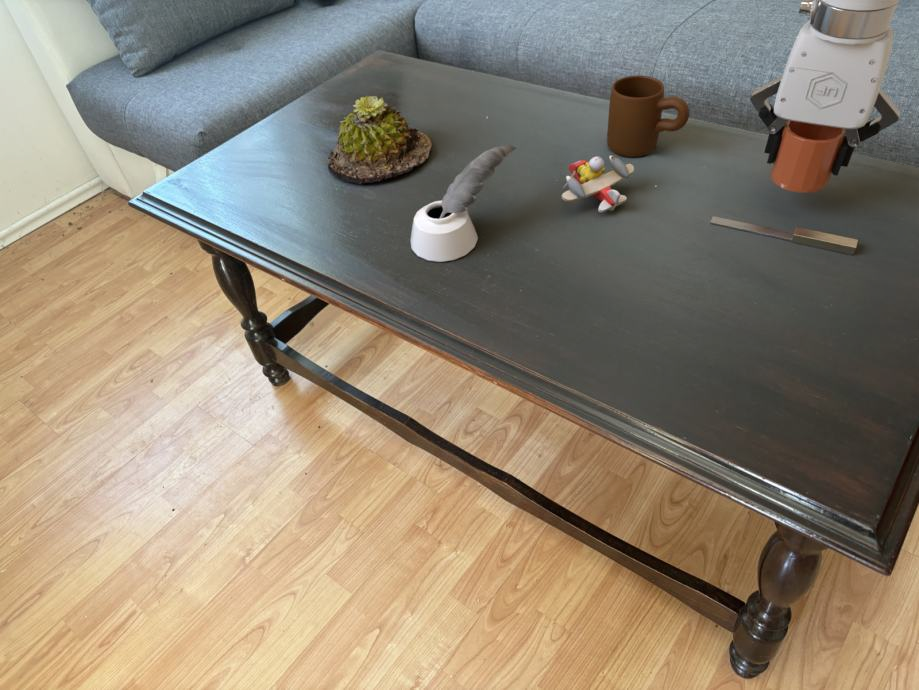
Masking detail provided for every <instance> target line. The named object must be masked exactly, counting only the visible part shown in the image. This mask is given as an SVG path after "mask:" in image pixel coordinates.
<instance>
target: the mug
mask: <svg viewBox="0 0 919 690" xmlns="http://www.w3.org/2000/svg"><path fill="white" fill-rule="evenodd" d="M608 105H609V106H608V119H607V133H606V134H607V135H606V144H607V147H608V149H609V150H610V151H611V152H612V153H614V154H615V155H618V156H621V157H625V158H639V157H644V156H647V155H648V154H651V153H652V152H653V151H654V150H656V147H657V145H658V141H659V137H660V135H659V134H660V133H661V132H677V131H679V130H681V129H683V128H684V127H685V126H686V124H687V123H688V121H689V118H690V108H689V105H688V103H687V102H686V101H685V100H684V99H683V98H680V97H678V96H667V97H665V84H664V83H663V82H662V81H661V80H660V79H658V78H655V77H653V76H649V75H641V74H639V75H627V76H625V77H622V78H619V79H617V80H616V81H614V82H613V84H612V86H611V91H610V97H609V104H608ZM672 109H673V110H676V111H677V116H676V117H675V118H673V119H672V118H666V117H665V118H662V115H663V111H664V110H672Z"/></svg>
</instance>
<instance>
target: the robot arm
mask: <svg viewBox="0 0 919 690" xmlns="http://www.w3.org/2000/svg"><path fill="white" fill-rule="evenodd" d="M899 1H900V0H802V1H801V3H800V7H799V10H798V14H801V15H802V14H803V15H805V16H808V21H806V22H805V23H804V24H803V26H802V27H801V28H800V30H799V32H798V34H797V36H796V38H795V41H794V43H793V45H792V47H791V50H790V53H789V54H788V55H789V56H788V58H787V61H786V63H785V67H784V70H783V73H782V75H781V76H779V77H778V78H776V79H773V80H771V81H770V82H768V83H766V84H765V85H762V86H761V87H759V88H758V89H756V90H754V91H753V92H752V93H751V95H750V97H749V100H750V103H751V104H752V106H753V108H754V109H755V111H756V112H757V113H758V117H759V118H760V120H761V121H762V122H763V125H765V127H766V128H767V132H768V138H767V140H766V145H765V147H764V154H768V157H767V160H766V164H770V165H772V164H773V163H774V159H775V156H776V152H777V149H778V146H779V142H780V139H781V135H782V131H783V128H784V125H785V123H786V122H787V121H788V120H790V121H796V122H802V123H808V124H815V125H822V126H828V127H835V128H843V129H845V132H846V135H845V138H844V141H843V143H842V146H841V148H840V151H839V154H838V157H837V159H836V162H835V165H834V168H833V170H832V173H831V175H833V176H836V177H838V176H839V173H840V170H841V167H844V168H848V167H849V163H850V161H851V158H852V156H853V154H854V150H855V148H856V147H858V146H859V145H860V143H862V142H864V141H867V140H869V139H870V138H873V137H874V136H876V135H878V134H879V133H880V132H881V131H882V130H883V131H884V130H885V129H887V128H889V127H891V126H892V125H894V124H896V123H897V122H898V121H899V120H900V117H901V111H900V109H899V108H898V107H897V106H896V105H895V104H894V102H892V100H891V99H890V97H888V95H887V94H886V93H885V92H884V90H883V89H882V88H881V87H882V85H883V81H884V78H885V75H886V72H887V69H888V65H889V61H890V57H891V52H892V49H893V48H892V47H893V43H894V30H893V28H892V27H890V25H891V22H892V20H893V17H894V15H895V11H896V8H897V6H898V4H899ZM774 95H776V96H775V99H774V105H773V106H772V104H770V103H769V101H768V99H769V98H771V97H773V96H774ZM874 108H875V109H876V110H877V112H878V113H879V114H880V115H879V116H878V117H877V118H873V119H871V120H869V119H870V116H871V114H872V112H873V110H874Z"/></svg>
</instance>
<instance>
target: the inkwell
mask: <svg viewBox="0 0 919 690" xmlns="http://www.w3.org/2000/svg"><path fill="white" fill-rule="evenodd" d="M516 149H517V147H516V146H515V145H512V144H507V145H506V144H505V145H504V144H503V145H499V146H495V147H492V148H490V149H488V150H485V151H484V152H482V153H481V154H479V155H478V156H477V157H475V158H474V159H473V160H471V161H470V162H469V163H468V164H467V165H466V166H465V167H464V169H463V170H462V171H461V172H459V173H457V175H456V176H455V178H454V180H453V182H452V183H450V184H449V185H448V187H447V190H446V193H445V194H444V195H443V197H442V199H441V200H435V201H433V202H430V203H428V204H426V205H424V206H422V207H421V208H420V209H419V210H417V212H416V213H415V215H414V217H413V220H412V226H411V233H410V247H411V250H412V251H413V252H414V254H416V257H418V258H421V259H423V260H426V261H428V262H435V263H436V262H437V263H446V262H450V261H452V262H453V261H456V260H458V259H460V258H463V257H465V256H467V255H468V254H469V253H470V252H471V251H472V250H473V249H475V248H476V244H477V242H478V240H479V236H478V233H477V229H476V227H475V225H474V223H473V220H472V218H471V216H470V213H469V211H468V210H469V208H468V207H469V206H471V205H472V204H474V203H475V202H476V201H477V197H476V195H478V194H480V192H482V190H483V188H484V182H485V181H487V180H489V179H490V178H491V177H492V176H493V175H494V174H495V173H496V171H497V169H496V167H498V166H500V165H501V164H502V162H503V161H504V159H505V158H507V157H508V156H509V155H510V153H512V152H514V151H515V150H516Z"/></svg>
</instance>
